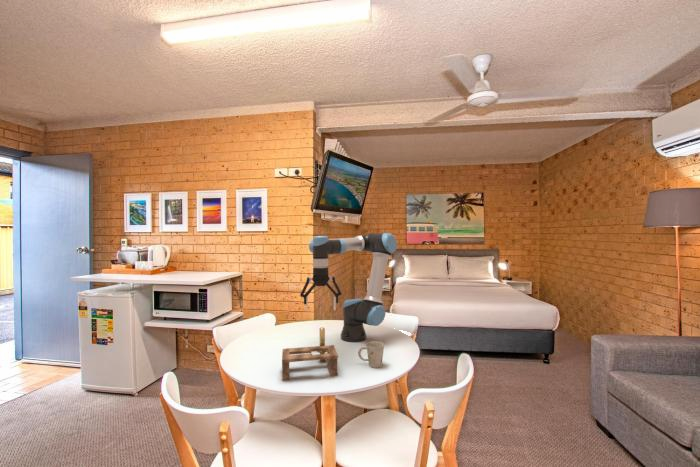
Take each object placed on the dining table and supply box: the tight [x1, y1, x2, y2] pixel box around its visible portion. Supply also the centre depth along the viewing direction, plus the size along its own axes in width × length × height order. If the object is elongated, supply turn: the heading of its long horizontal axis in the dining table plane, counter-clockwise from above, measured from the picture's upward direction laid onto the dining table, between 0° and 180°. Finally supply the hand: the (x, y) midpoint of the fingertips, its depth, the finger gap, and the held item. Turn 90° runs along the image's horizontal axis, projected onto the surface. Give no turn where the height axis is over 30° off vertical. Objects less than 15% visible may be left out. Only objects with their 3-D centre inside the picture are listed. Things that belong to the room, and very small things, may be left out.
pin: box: [315, 327, 327, 363], centre depth 159 cm, size 6×6×16 cm
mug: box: [357, 340, 385, 369], centre depth 154 cm, size 8×13×10 cm, turn 78°
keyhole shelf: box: [281, 344, 339, 381], centre depth 146 cm, size 24×14×9 cm, turn 101°
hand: (321, 310), depth 160 cm, fingers open, 13 cm apart
